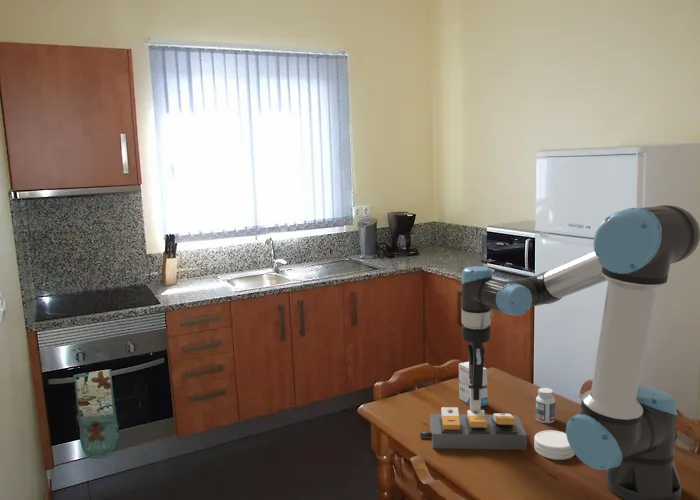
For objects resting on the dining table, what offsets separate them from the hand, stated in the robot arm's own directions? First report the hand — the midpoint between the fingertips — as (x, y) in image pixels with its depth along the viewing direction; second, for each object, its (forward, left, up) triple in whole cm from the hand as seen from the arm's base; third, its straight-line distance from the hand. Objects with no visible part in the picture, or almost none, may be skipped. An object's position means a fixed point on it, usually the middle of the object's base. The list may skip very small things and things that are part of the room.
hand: (475, 409), depth 157 cm
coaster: (-8, -19, -8) cm, 22 cm away
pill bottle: (+10, -21, -8) cm, 25 cm away
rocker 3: (-3, -7, -1) cm, 8 cm away
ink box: (+22, -2, -8) cm, 24 cm away
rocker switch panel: (-2, +1, -8) cm, 8 cm away
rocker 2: (-3, 0, -1) cm, 3 cm away
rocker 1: (-3, +7, -1) cm, 8 cm away
